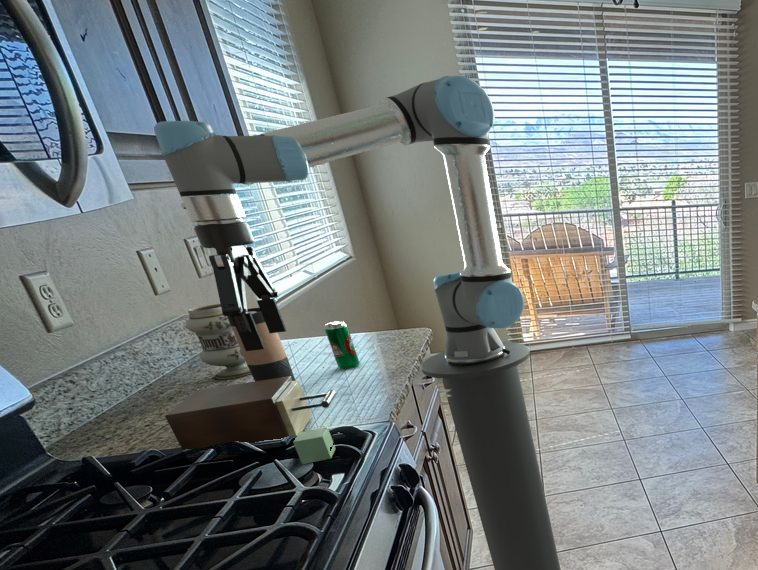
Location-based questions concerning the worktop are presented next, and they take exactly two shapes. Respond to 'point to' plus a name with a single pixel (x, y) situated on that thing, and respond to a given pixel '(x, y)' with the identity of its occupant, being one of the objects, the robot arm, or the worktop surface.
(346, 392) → the worktop surface
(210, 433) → the cabinet
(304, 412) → the drawer
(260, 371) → the travel mug
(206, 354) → the apothecary jar
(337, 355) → the soda can
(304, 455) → the block
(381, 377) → the worktop surface
